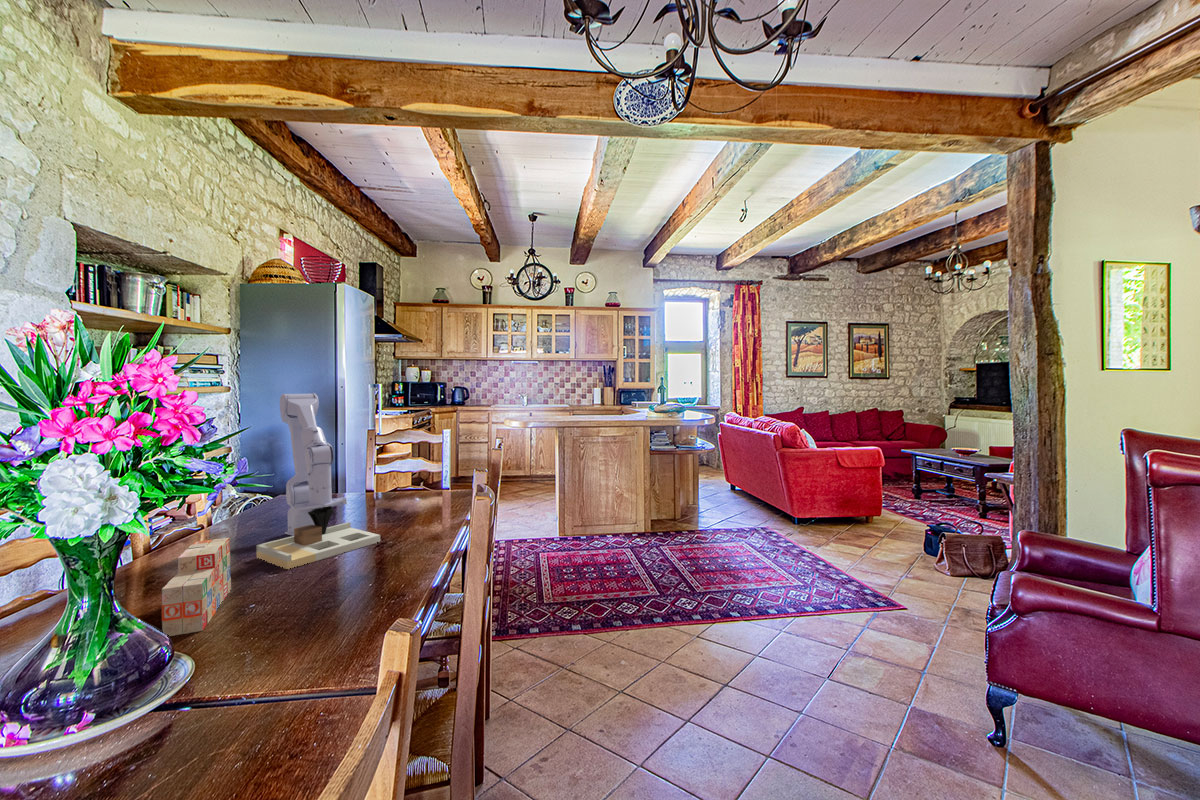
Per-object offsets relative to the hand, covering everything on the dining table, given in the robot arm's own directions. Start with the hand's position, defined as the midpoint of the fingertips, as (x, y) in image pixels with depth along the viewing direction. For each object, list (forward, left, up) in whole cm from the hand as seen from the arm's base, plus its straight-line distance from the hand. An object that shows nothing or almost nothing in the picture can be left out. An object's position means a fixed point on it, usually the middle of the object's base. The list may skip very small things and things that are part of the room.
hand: (321, 533), depth 146 cm
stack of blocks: (+21, -37, -4) cm, 42 cm away
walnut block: (0, -4, -1) cm, 4 cm away
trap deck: (+4, -2, -3) cm, 6 cm away
